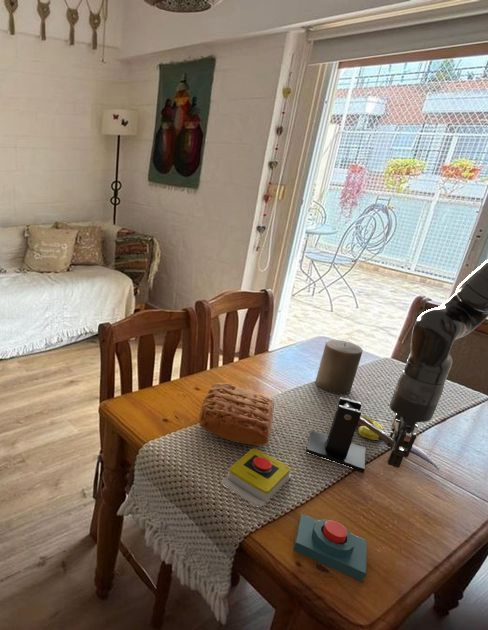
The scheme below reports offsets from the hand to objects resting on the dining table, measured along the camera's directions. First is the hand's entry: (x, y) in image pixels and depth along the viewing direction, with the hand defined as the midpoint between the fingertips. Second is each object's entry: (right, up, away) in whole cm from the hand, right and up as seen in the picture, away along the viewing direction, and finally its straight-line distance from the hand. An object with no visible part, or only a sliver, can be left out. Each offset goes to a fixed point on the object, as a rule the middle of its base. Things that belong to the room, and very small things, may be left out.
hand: (392, 455), depth 100 cm
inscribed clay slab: (-30, +2, +15) cm, 34 cm away
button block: (-26, -12, -18) cm, 34 cm away
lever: (-5, +5, +1) cm, 7 cm away
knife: (+6, 0, +11) cm, 13 cm away
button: (-26, -8, -20) cm, 33 cm away
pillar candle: (+8, +10, +36) cm, 38 cm away
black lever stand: (-9, -1, +7) cm, 11 cm away
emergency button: (-32, -5, -2) cm, 33 cm away
